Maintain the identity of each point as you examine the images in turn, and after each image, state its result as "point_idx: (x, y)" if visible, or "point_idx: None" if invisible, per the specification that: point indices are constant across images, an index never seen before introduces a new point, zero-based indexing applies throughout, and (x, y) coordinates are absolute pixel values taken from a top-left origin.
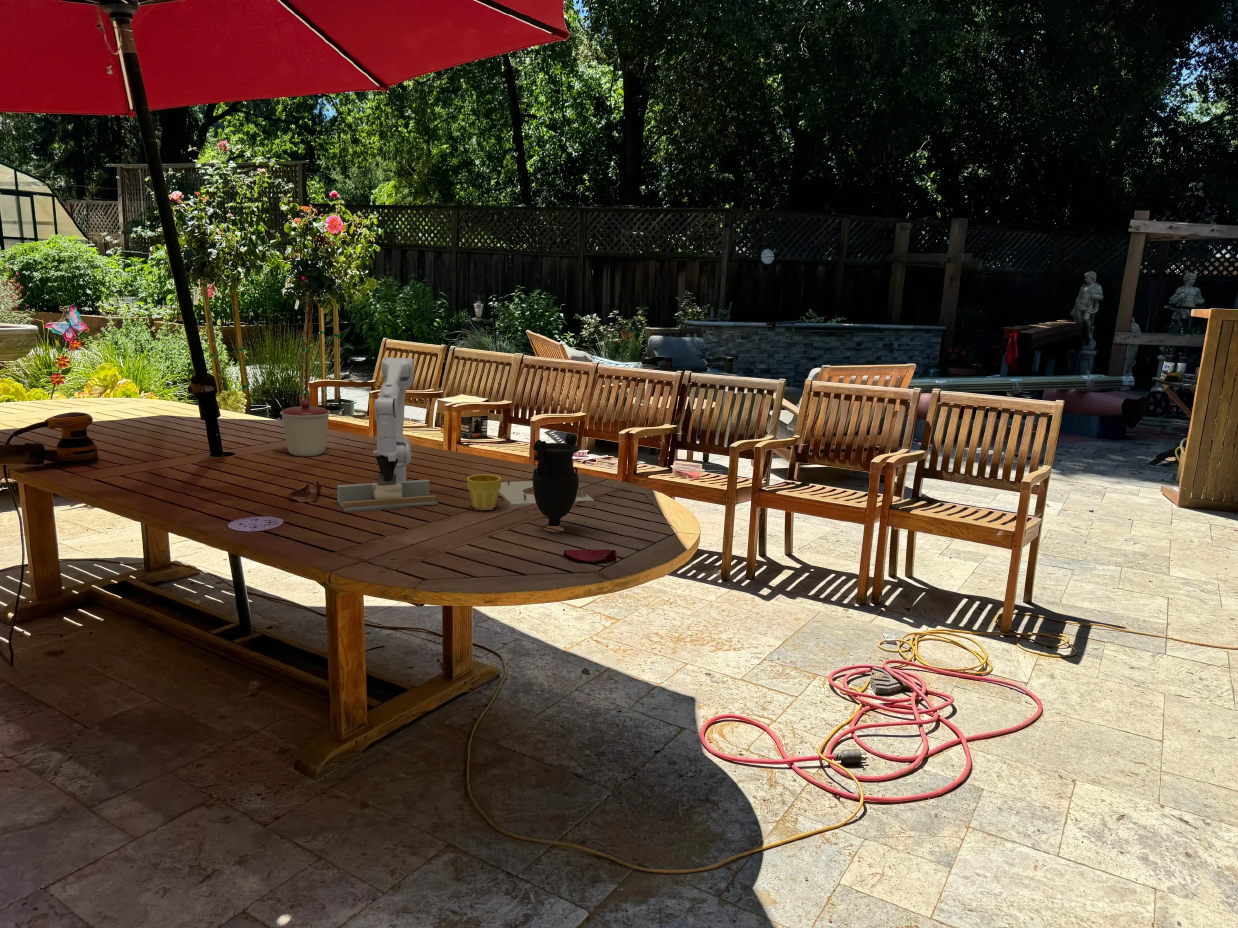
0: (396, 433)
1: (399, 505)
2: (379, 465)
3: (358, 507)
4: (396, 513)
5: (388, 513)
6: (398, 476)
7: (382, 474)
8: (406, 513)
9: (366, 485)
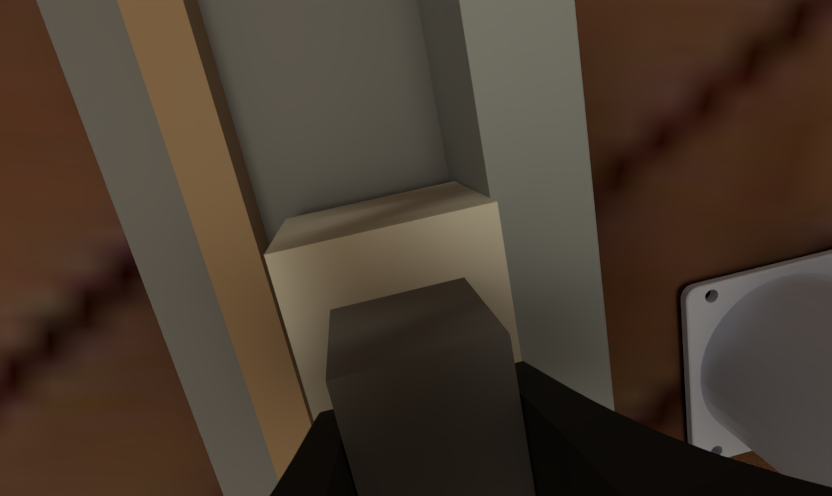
0: None
1: (205, 413)
2: (612, 484)
3: (116, 28)
4: (12, 382)
5: (6, 317)
6: (823, 481)
7: (465, 418)
8: (18, 457)
9: (478, 122)
